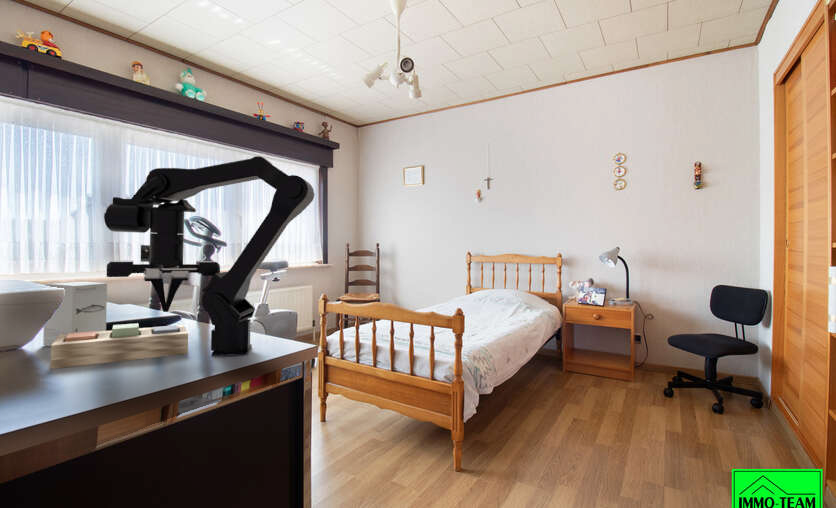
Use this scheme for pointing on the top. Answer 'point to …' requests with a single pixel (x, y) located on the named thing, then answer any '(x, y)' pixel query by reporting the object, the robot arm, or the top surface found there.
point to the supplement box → (78, 310)
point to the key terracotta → (81, 336)
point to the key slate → (165, 329)
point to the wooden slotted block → (117, 347)
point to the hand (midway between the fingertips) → (165, 311)
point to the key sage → (125, 330)
